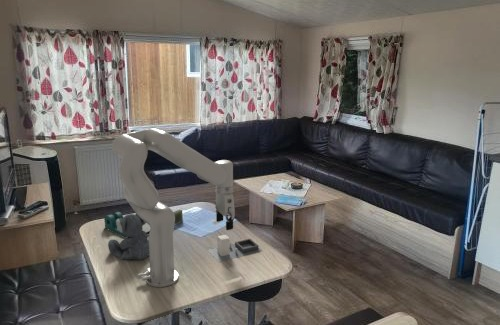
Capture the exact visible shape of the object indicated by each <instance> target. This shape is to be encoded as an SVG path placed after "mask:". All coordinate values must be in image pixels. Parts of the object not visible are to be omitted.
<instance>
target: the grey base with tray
mask: <svg viewBox="0 0 500 325" xmlns="http://www.w3.org/2000/svg"><path fill="white" fill-rule="evenodd" d="M259 247H260V246H259V244H257V243H256V242H255V241H254V240H252V239H251V238H247V239H242V240H239V241H238V240H237V241H235V242H234V243H233V244H232V242H230V243H229V255H225V256H220V255H219V254H218V252H217V248H218V247H215V248H211V249H208V250H207V251H208V252H209V253H210V255H212V257H213V258H214V259H216V261H217V262H218V263H220V262H225V261H229V260H233V259H236V258H237V259H238V258H240V257H244V256H248V255H252V254H256V253H260V252H263V250H262V249H261V248H259Z"/></svg>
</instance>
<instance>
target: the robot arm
mask: <svg viewBox="0 0 500 325" xmlns="http://www.w3.org/2000/svg"><path fill="white" fill-rule="evenodd" d="M111 150H112V152H113V153H114V154H115V156H117V157H118V158H120V159H121V162H120V163H119V164H120V165H119V168H118V176H119V180H120V181H121V183H122V185H123V186H124V187H123V196H124V198H125V200H126V201H127V202H128V204H129V205H130V207H131V208H132V209H133V211H134V212H135V214H137V215H138V216H139V217H140V218H141V219H142V220H143V221H145V222H146V224H147V225H148V226H149V228H150V230H149V231H150V233H149V234H148V243H149V255H148V257H149V258H148V259H149V260H148V262H149V267H148V268H147V271H145V272H140V273H137V279H138V280H141V279H142V281H146V283H147V284H148V285H149V286H151V287H153V288H164V287H169V286H171V285H173V284H175V283H177V281H178V280H179V273H178V271H177V270H175V251H174V249H175V248H174V231H175V230H174V228H175V225H174V224H175V215H174V212H175V211H173V209H172V208H170V207H169V206H168V205H166V204H165V203H163V202H161V201H160V195H159V192H158V190H157V188H156V187H155V186H154V184H153V183H152V181H151V180H150V179H149V178H148V175H147V174H146V171H145V169H144V168H145V163H146V160H147V158H148V155H149V154H148V153H149V152H148V151H152V152H154V153H156V154H158V155H159V156H161V157H163V158H165V159H166V160H168V161H170V162H172V163H173V164H174V165H176V166H177V167H180V168H182V170H185V171H188V172H190V173H193V174H196V176H197V178H198V179H200V180H202V181H205V182H206V183H207V182H208V183H210V184H211V185H213V186H215V201H214V204H215V206H214V207H215V209H216V210H215V213H216V214H215V215H216V217H215V218H216V222H217V223H218V222H223V221H224V217H225V220H226V221H225V230H226V231H231V230H233V229H234V220H235V212H236V211H235V210H236V209H235V198H234V165H233V162H232V161H231V160H229V159H228V160H227V159H221V160H217V161H213V160H211V159H209V158H208V157H206V156H204V155H203V154H201V153H200V152H198V151H197V150H195V149H194V148H192V147H190V146H189V145H187V144H186V143H184V142H182V141H181V140H180V139H178V138H177V137H175V136H173V135H172V134H171V133H169V132H166V131H165V130H162V129H158V128H155V127H154V128H146V129H141V130H136V131H133V132H127V133H124V134H120V135H118V136H116V138H114V140H113V141H112V145H111Z"/></svg>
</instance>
